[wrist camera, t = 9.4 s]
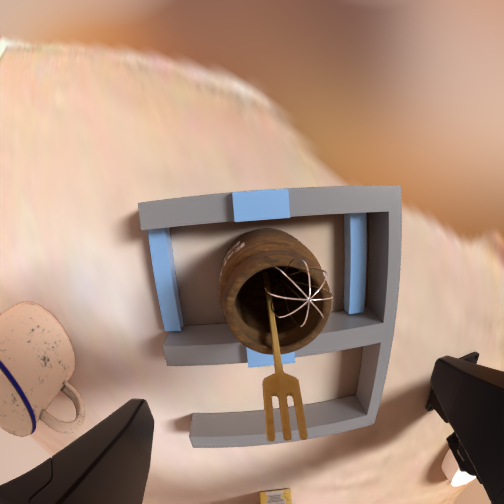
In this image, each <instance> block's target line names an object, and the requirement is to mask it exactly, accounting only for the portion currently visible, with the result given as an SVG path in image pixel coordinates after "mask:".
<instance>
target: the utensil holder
mask: <svg viewBox="0 0 504 504" xmlns="http://www.w3.org/2000/svg"><path fill="white" fill-rule="evenodd" d="M323 272H325V273H326V277H324V275H323ZM326 279H327V272H326V271H324V270H322V269H321V266H320V264H319V262H318V261H317V259H316V258H315V256H314V255H313V254H312V253H311V252H310V250H309V249H308V248H307V247H305V246H304V245H303V244H302V243H301V242H300V241H298V240H297V239H296V238H294V237H293V236H291V235H290V234H288V233H286V232H283V231H281V230H277V229H270V228H264V229H257V230H253V231H250V232H248V233H246V234H244V235H243V236H241V237H240V238H238V239H237V240H236V241H235V242H234V243H233V244H232V245H231V247H230V248H229V250H228V251H227V253H226V255H225V258H224V260H223V264H222V268H221V273H220V278H219V297H220V302H221V305H222V308H223V312H224V316H225V319H226V322H227V324H228V327H229V329H230V331H231V332H232V334H233V335H234V336H235V338H236V339H237V340H238V341H239V342H240V343H241V344H243V345H244V346H246V347H247V348H249V349H251V350H253V351H256V352H259V353H262V354H268V355H273V358H274V366H275V373H274V374H272V375H270V376H268V377H266V378H264V380H263V384H262V385H263V398H264V410H265V422H266V435H267V440H268V441H269V442H273V441H274V440H275V429H274V417H273V406H272V396H277V397H278V399H279V407H280V415H281V423H282V431H283V439H284V440H285V441H290V440H291V438H292V435H291V427H290V419H289V411H288V404H287V396H289V395H290V396H292V397H293V401H294V407H295V413H296V419H297V425H298V431H299V437H300V439H302V440H306V439H307V437H308V434H307V428H306V422H305V416H304V410H303V404H302V398H301V392H300V386H299V381H298V379H297V378H295V377H293V376H291V375H288V374H286V373H284V371H283V368H282V361H281V354H287V353H291V352H294V351H297V350H299V349H301V348H303V347H305V346H306V345H308V344H309V343H311V342H312V341H313V340H314V339H315V338H316V337H317V336H318V335H319V334H320V333H321V331H322V330H323V328H324V327H325V325H326V323H327V320H328V318H329V315H330V310H331V299H332V298H333V297H334V295H333V294H332V293H330V290H329V287H328V284H327V281H326ZM330 294H331V295H332V297H331V295H330Z"/></svg>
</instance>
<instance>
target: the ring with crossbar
mask: <svg viewBox="0 0 504 504" xmlns="http://www.w3.org/2000/svg"><path fill="white" fill-rule="evenodd" d="M442 471H443V472H444V474H445V475H446V477H447V478H448V480H449V481H450V483H451V485H452V486H460V485H465V484H467V483H468V482H470V481H471V480H473V479H475V478H476V476H472V475H469V474H468V473H467V472H461V471H460V470H459V466H458V463H457V461H456V459H455V457H454V455H453V453H452V451H451V449H449V450H448V452H447V454H446V456H445V458H444V460H443V462H442Z"/></svg>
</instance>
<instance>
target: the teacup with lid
mask: <svg viewBox="0 0 504 504" xmlns="http://www.w3.org/2000/svg"><path fill="white" fill-rule="evenodd" d="M74 369H75V355H74V351H73V347H72V345H71V342H70V340H69V338H68V336H67V334H66V332H65V331H64V329H63V328H62V326H61V325H60V323H59V322H58V321H57V320H56V319H55V318H54V317H53V316H52V315H51V314H50V313H49V312H48V311H47V310H45V309H44V308H43V307H41V306H39V305H37V304H35V303H31V302H21V303H18V304H16V305H15V306H13V307H12V308H10V309H8V310H7V311H5V312H4V313H2V314H1V315H0V427H1V428H2V429H3V430H5V431H7V432H9V433H10V434H13V435H16V436H20V437H24V436H28V435H30V434H32V433H33V432H34V431H35V429H36V423H37V421H38V420H39V419H40V420H41V421H42V422H44V423H45V424H46V425H48V426H49V427H50V428H52V429H54V430H56V431H58V432H61V433H73V432H76V431H77V430H78V429H79V428H80V427H81V425H82V423H83V421H84V417H85V407H84V402H83V400H82V398H81V396H80V394H79V393H78V392H77V391H76V390H75V389H74V388H73V387H72V386H71V385H70V384H69V383H68V382H67V381H68V380H69V379H70V377H71V376H72V374H73V372H74ZM60 390H61V391H62V392H64V393H65V394H66V395H67V396H68V397H69V398H70V399H71V400H72V401H73V403H74V405H75V408H76V419H75V420H73V421H72V422H63V421H60V420H57V419H56V418H54V417H53V416H51V415H50V414H49V413H48V412H46V411H45V410H46V409H47V408H48V406H49V405H50V403H51V402H52V401H53V399H54V398H55V397H56V395H57V394H58V393H59V392H60Z"/></svg>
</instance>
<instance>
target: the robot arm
mask: <svg viewBox="0 0 504 504" xmlns="http://www.w3.org/2000/svg"><path fill="white" fill-rule="evenodd" d="M478 357H479V353H477V352H474V353H472V354H470V355H467V356H465V357H463V358H460V359H457V358H454V357H451V356H444V357H441V358H439V359H437V361H436V362H435V366H434V369H433V373H432V376H431V385H432V387H433V389H432V392H431V395H430V398H429V400H428V403H427V406H426V410H427V411H431V410H433V409H435V410H436V412H437V413H438V414H439V415H440V417H441V418H442V419H443V420H444V422H446V423H448V422H449V424H450V425H451V426H452V428H453V430H454V432H453V433H452V434H451V435H450V436H449V437H448V438H447V439H446V440H447V442H448V443H449V444H448V445H449V447H450V449H451V451H452V453H453V455H454V457H455V459H456V461H457V463H458V466H459V470H460V471H461V472H467V473H468V474H469V475H472V476H476V478H477V479H478V481H479V482H480V484H483V486H484V488H485V490H486V492H487V494H488V497H489V499H490V501H491V504H504V372H503V371H499V370H496V369H492V368H488V367H485V366H481V365H478V364H476V363H477V360H478ZM153 432H154V419H153V416H152V414H151V411H150V408H149V406H148V403H147V401H146V400H144V399H131V400H129V401H128V402H127V403H125V404H124V405H123V406H121V407H120V408H119V409H117V410H116V411H115V412H113V413H112V414H111V415H109V416H108V417H107V418H105V419H104V420H103V421H101V422H100V423H99V424H97V425H96V426H95V427H93V428H92V429H90V430H89V431H88V432H86V433H85V434H83V435H82V436H81V437H79V438H78V439H76V440H75V441H74V442H72V443H71V444H69V445H68V446H67V447H65V448H64V449H62V450H61V451H59V452H58V453H56V454H55V455H53V456H52V458H49V459H47V460H46V461H45V462H43V463H42V464H40V465H38V466H37V467H35V468H34V469H32V470H30V471H29V472H27V473H25V474H23V475H21V476H19V477H17V478H15V479H13V480H11V481H9V482H7V483H5V484H2V485H0V504H142V501H143V496H144V491H145V487H146V482H147V478H148V473H149V468H150V461H151V450H152V441H153Z"/></svg>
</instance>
